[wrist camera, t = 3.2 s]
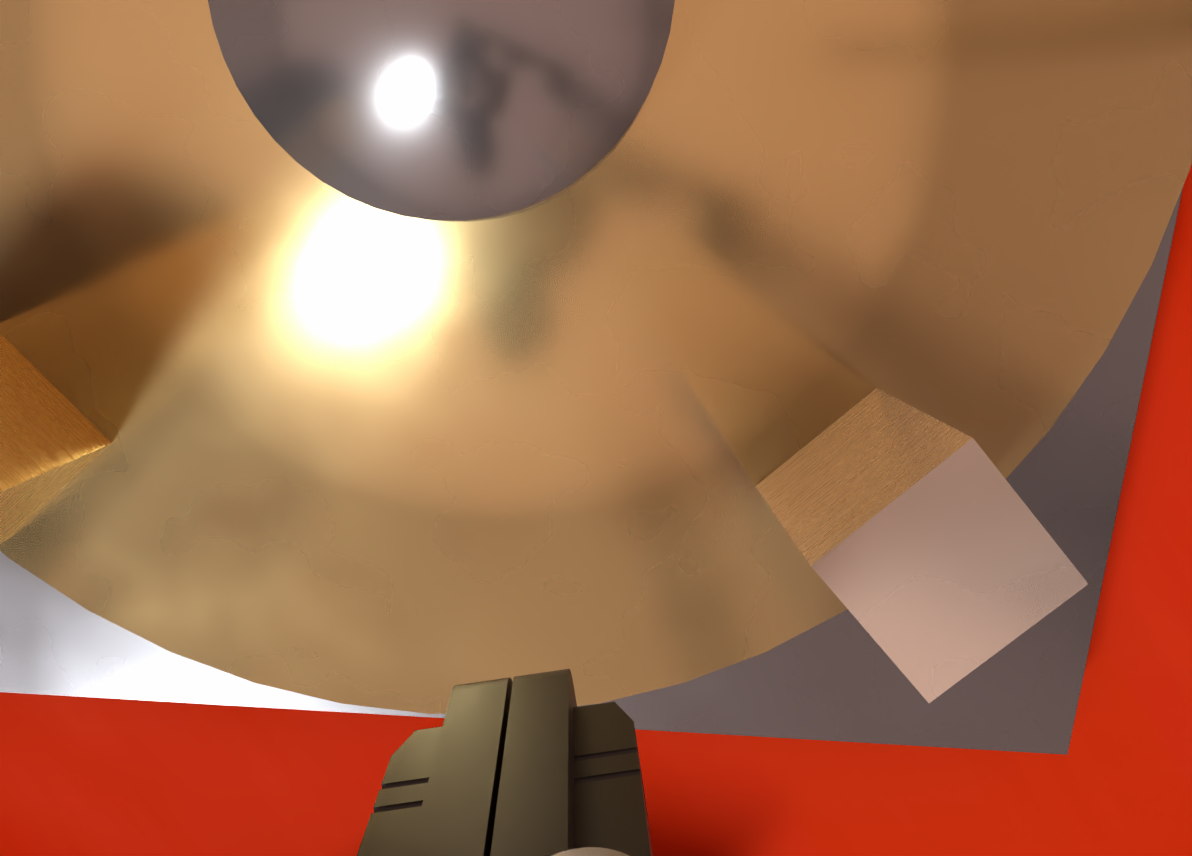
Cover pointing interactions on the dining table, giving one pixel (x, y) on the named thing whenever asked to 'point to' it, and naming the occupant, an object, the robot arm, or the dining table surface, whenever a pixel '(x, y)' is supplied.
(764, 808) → the dining table surface
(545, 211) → the round brass tray
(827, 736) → the base plate
